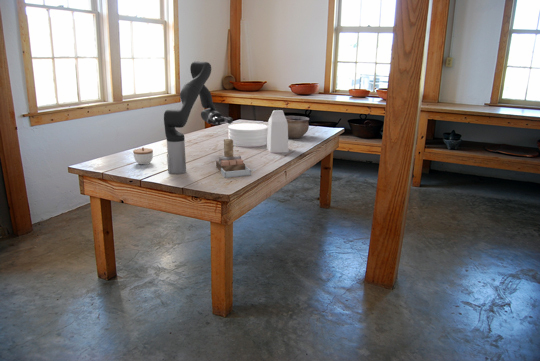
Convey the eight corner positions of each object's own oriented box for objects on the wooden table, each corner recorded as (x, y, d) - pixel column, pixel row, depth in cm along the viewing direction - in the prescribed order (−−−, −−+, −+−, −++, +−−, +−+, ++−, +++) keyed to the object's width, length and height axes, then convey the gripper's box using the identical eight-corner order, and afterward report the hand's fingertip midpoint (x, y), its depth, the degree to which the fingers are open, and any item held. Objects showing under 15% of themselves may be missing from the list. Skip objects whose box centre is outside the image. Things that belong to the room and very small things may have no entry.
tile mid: (229, 165, 230) (229, 161, 229) (228, 163, 233) (228, 159, 232) (236, 164, 231) (236, 160, 231) (234, 163, 234) (234, 159, 234)
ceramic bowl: (277, 134, 333) (278, 115, 329) (305, 134, 336) (306, 115, 331) (281, 140, 312) (282, 119, 308) (311, 140, 315) (311, 119, 310)
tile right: (237, 164, 231) (237, 160, 231) (235, 162, 234) (235, 159, 234) (243, 163, 233) (243, 160, 232) (241, 162, 236) (241, 158, 235)
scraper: (219, 163, 233) (219, 141, 229) (217, 161, 238) (216, 139, 234) (241, 161, 237) (240, 140, 233) (238, 159, 242) (237, 138, 238)
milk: (270, 152, 276) (270, 111, 268) (266, 148, 286) (267, 109, 279) (288, 151, 278) (289, 111, 270) (284, 148, 289) (285, 109, 281)
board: (221, 173, 229) (221, 166, 228) (216, 167, 240) (216, 160, 238) (245, 171, 233) (245, 164, 232) (238, 165, 244) (238, 159, 243)
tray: (224, 177, 222) (224, 172, 221) (220, 173, 229) (220, 168, 228) (250, 175, 226) (250, 169, 225) (246, 171, 233) (246, 165, 233)
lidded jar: (157, 162, 249) (156, 146, 246) (143, 166, 240) (142, 150, 238) (144, 160, 254) (143, 144, 252) (130, 164, 246) (128, 148, 243)
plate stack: (245, 137, 324) (245, 121, 321) (275, 141, 309) (276, 125, 305) (220, 143, 302) (219, 127, 299) (252, 148, 287) (251, 131, 284)
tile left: (222, 165, 229) (222, 162, 228) (220, 164, 232) (220, 160, 231) (229, 165, 230) (228, 161, 229) (227, 163, 233) (227, 160, 232)
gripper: (203, 112, 253) (210, 116, 238) (227, 111, 258) (234, 115, 243) (204, 125, 255) (210, 129, 241) (227, 123, 260) (235, 128, 246)
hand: (222, 122), depth 242 cm, fingers open, 8 cm apart
